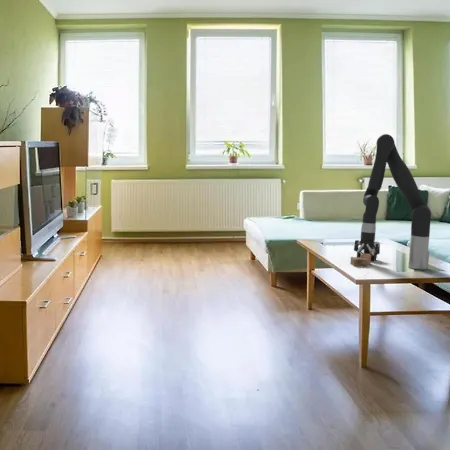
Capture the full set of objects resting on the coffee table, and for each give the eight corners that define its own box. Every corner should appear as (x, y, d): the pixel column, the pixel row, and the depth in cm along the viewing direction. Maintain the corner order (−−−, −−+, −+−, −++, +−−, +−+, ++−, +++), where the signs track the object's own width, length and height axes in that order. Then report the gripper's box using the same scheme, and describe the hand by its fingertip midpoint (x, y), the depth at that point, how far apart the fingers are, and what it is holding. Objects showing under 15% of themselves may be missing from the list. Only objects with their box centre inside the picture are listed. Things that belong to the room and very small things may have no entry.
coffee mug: (379, 259, 317) (381, 242, 316) (375, 261, 310) (376, 243, 309) (359, 257, 323) (360, 240, 322) (355, 259, 316) (356, 241, 314)
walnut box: (363, 264, 300) (363, 257, 299) (366, 267, 293) (367, 259, 292) (350, 264, 299) (350, 257, 299) (353, 266, 292) (354, 259, 292)
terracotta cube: (368, 262, 305) (369, 253, 304) (370, 264, 300) (371, 255, 299) (359, 262, 305) (359, 253, 305) (361, 264, 300) (361, 255, 300)
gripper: (383, 232, 298) (381, 262, 300) (360, 229, 308) (357, 257, 310) (376, 233, 293) (374, 263, 295) (353, 229, 303) (350, 259, 304)
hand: (365, 260), depth 302 cm, fingers open, 8 cm apart
